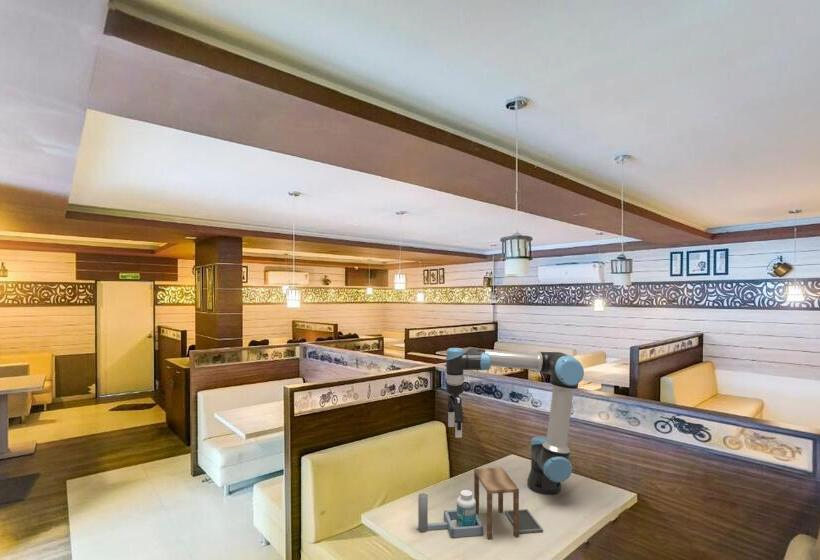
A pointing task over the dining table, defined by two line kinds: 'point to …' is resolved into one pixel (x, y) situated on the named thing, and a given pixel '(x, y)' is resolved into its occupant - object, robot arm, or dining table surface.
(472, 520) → the pill bottle
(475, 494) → the tunnel
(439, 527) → the grey frame on stick
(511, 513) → the dark grey flat plate
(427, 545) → the dining table surface
